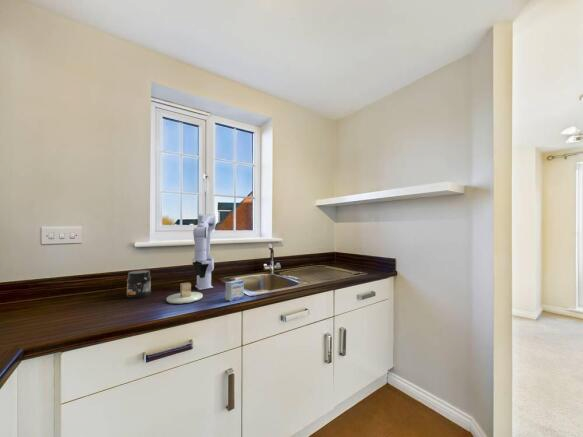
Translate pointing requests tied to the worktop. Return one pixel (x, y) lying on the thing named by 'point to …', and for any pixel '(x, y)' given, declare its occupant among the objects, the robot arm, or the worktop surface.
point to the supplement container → (138, 284)
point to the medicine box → (234, 290)
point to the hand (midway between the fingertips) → (200, 276)
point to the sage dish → (178, 299)
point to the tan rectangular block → (185, 290)
